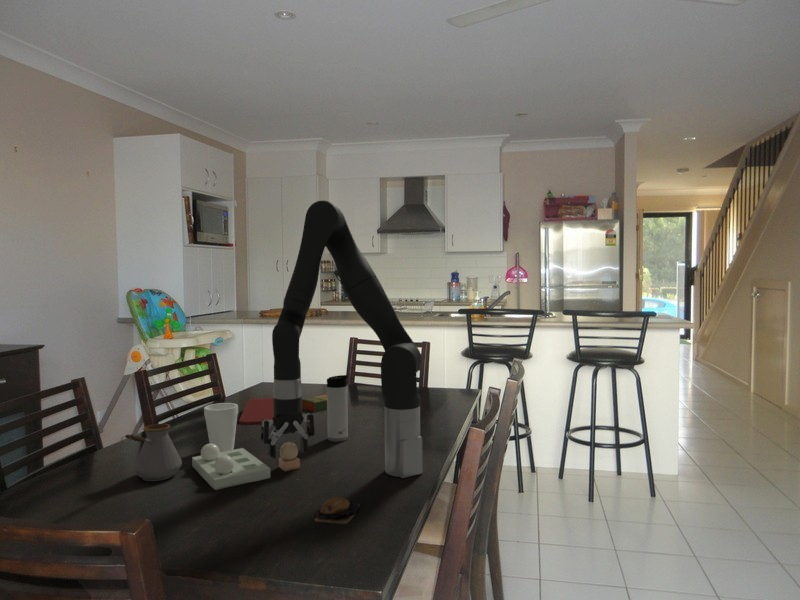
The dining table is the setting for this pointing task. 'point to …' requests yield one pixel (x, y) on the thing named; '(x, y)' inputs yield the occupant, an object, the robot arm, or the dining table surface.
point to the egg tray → (242, 473)
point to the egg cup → (289, 464)
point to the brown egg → (288, 451)
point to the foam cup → (221, 424)
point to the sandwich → (337, 511)
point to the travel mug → (337, 408)
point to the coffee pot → (156, 454)
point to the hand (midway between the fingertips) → (288, 455)
